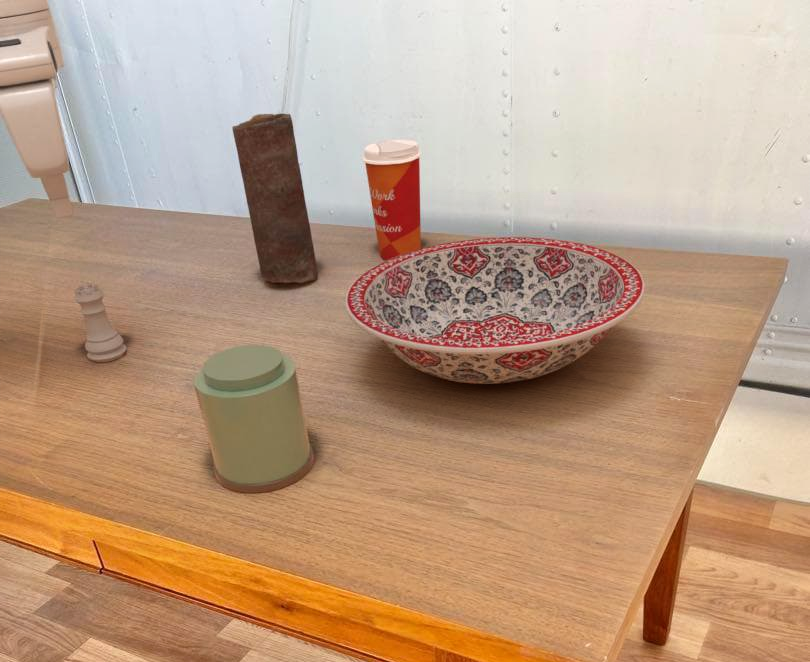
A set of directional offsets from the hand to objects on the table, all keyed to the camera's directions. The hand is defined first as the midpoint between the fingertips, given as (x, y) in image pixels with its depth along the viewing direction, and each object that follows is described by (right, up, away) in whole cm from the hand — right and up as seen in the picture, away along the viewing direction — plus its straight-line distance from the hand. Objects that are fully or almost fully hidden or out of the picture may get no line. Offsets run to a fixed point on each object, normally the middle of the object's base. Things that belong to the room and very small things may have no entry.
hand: (62, 204), depth 87 cm
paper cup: (+35, +5, +29) cm, 46 cm away
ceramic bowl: (+45, -16, +1) cm, 48 cm away
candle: (+20, 0, +25) cm, 32 cm away
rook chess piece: (+1, -14, +10) cm, 17 cm away
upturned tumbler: (+23, -28, -12) cm, 38 cm away
